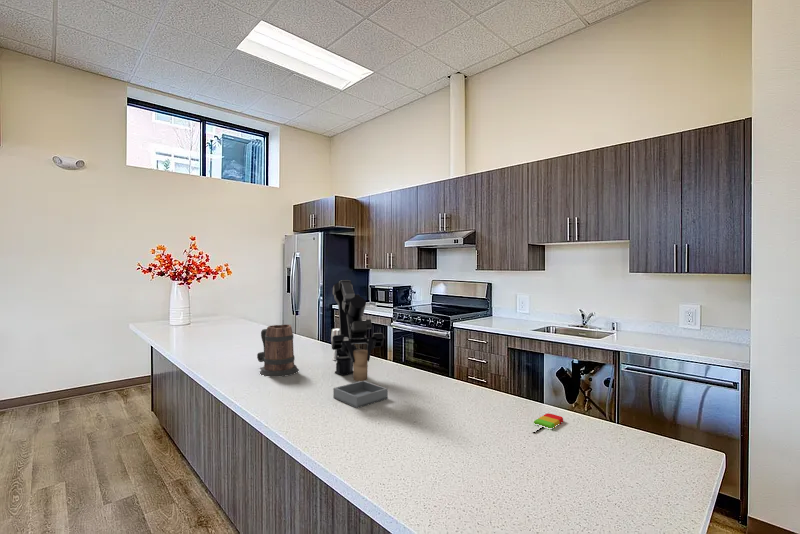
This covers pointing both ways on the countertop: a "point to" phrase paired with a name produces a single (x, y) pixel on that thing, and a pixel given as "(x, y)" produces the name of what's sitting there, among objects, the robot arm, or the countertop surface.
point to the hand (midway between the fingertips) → (361, 361)
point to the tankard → (277, 351)
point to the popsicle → (549, 420)
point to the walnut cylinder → (360, 365)
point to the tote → (360, 393)
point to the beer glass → (334, 332)
